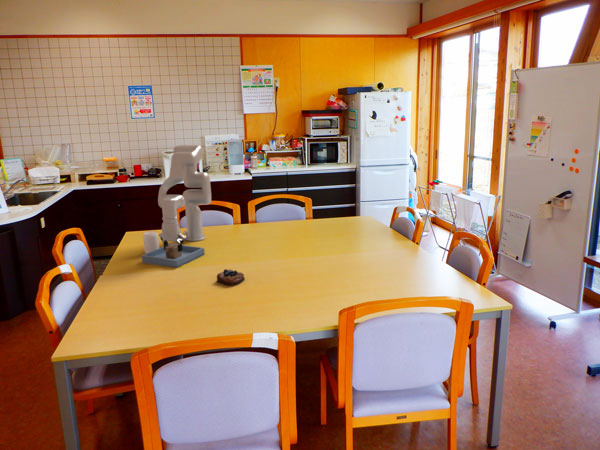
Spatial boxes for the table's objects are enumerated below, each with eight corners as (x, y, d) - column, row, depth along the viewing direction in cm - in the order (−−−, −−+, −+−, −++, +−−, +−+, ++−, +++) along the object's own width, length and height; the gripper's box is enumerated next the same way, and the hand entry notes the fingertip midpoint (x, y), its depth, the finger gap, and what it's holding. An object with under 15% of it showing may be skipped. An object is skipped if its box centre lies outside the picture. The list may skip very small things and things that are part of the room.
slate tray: (142, 262, 259) (141, 255, 258) (171, 250, 280) (170, 243, 279) (177, 268, 249) (176, 260, 248) (204, 254, 270) (204, 247, 269)
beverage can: (142, 253, 274) (139, 233, 271) (152, 249, 281) (150, 230, 278) (152, 255, 271) (150, 235, 268) (162, 251, 278) (160, 231, 274)
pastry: (230, 275, 237) (229, 264, 236) (248, 280, 230) (247, 269, 229) (214, 282, 229) (213, 271, 227) (231, 287, 222) (231, 276, 220)
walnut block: (166, 257, 263) (165, 247, 262) (173, 254, 268) (172, 244, 267) (174, 259, 261) (173, 248, 259) (181, 255, 266) (180, 245, 264)
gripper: (153, 220, 259) (156, 250, 264) (178, 223, 252) (181, 253, 257) (162, 217, 266) (165, 246, 270) (187, 219, 259) (190, 249, 263)
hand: (173, 250), depth 263 cm, fingers open, 9 cm apart
